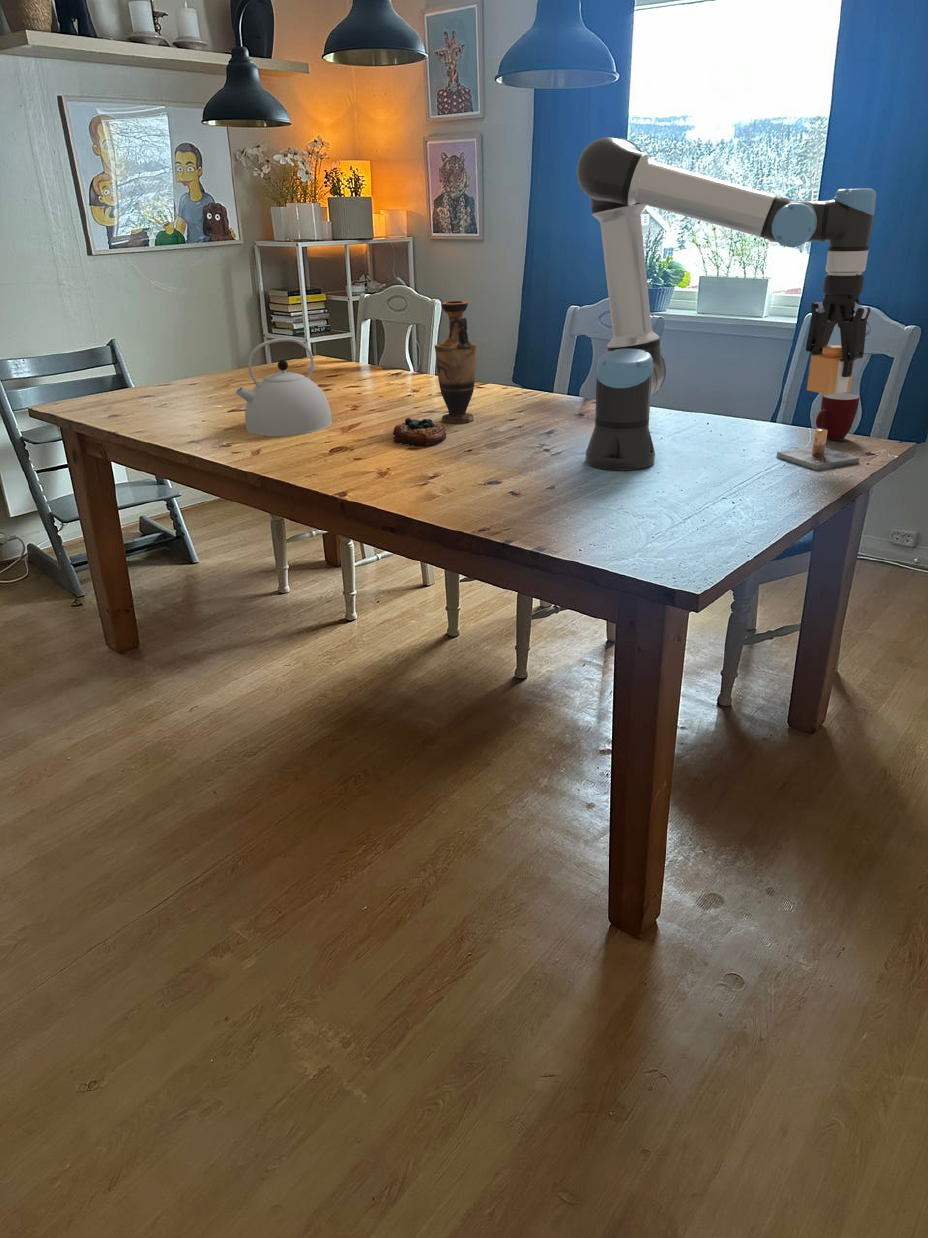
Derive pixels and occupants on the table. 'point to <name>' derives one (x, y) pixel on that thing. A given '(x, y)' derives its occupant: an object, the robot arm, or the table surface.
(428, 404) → the table surface
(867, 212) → the robot arm
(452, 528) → the table surface
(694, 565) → the table surface
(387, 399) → the table surface
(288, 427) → the kettle
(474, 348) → the vase
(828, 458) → the plate
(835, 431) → the mug
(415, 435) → the pastry
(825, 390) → the orange block
